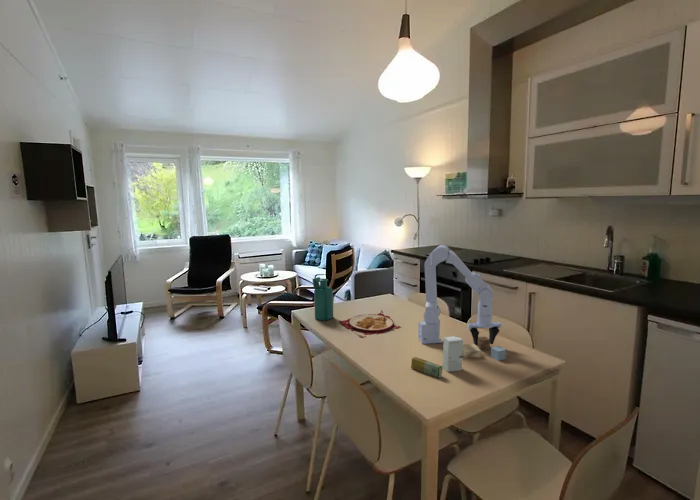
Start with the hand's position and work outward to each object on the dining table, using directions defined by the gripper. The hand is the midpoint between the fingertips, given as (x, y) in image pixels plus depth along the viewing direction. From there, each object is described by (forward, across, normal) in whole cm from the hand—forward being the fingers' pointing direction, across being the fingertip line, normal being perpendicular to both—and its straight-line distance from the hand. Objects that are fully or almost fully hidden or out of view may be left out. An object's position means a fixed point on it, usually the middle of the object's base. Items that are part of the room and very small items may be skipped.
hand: (483, 343), depth 157 cm
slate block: (+2, +1, -11) cm, 11 cm away
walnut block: (+2, 0, 0) cm, 2 cm away
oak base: (+2, -9, -6) cm, 11 cm away
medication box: (+2, -32, -20) cm, 37 cm away
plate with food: (+2, -44, +33) cm, 55 cm away
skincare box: (+2, -21, -18) cm, 28 cm away
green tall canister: (+2, -69, +48) cm, 84 cm away
